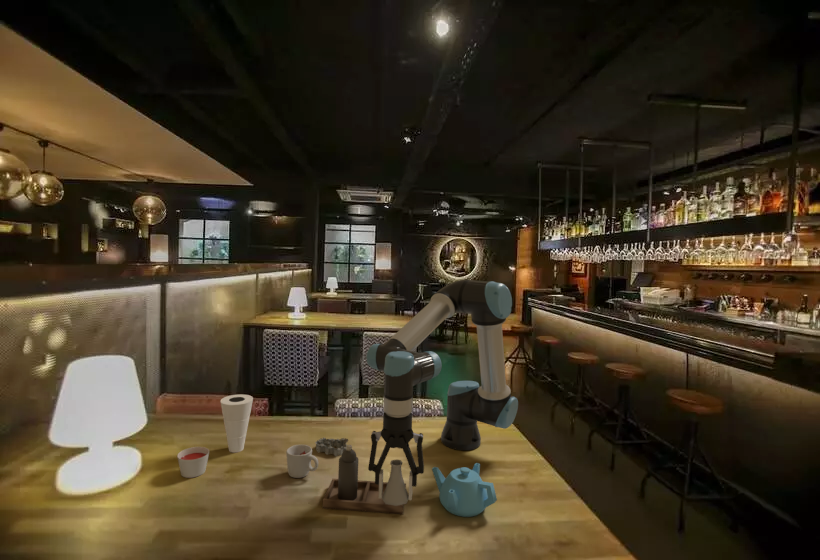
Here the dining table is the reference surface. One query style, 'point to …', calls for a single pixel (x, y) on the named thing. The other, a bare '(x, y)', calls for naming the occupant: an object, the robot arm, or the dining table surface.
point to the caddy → (360, 499)
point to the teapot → (464, 491)
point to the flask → (395, 486)
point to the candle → (193, 461)
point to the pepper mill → (348, 475)
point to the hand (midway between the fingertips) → (395, 496)
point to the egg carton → (331, 446)
